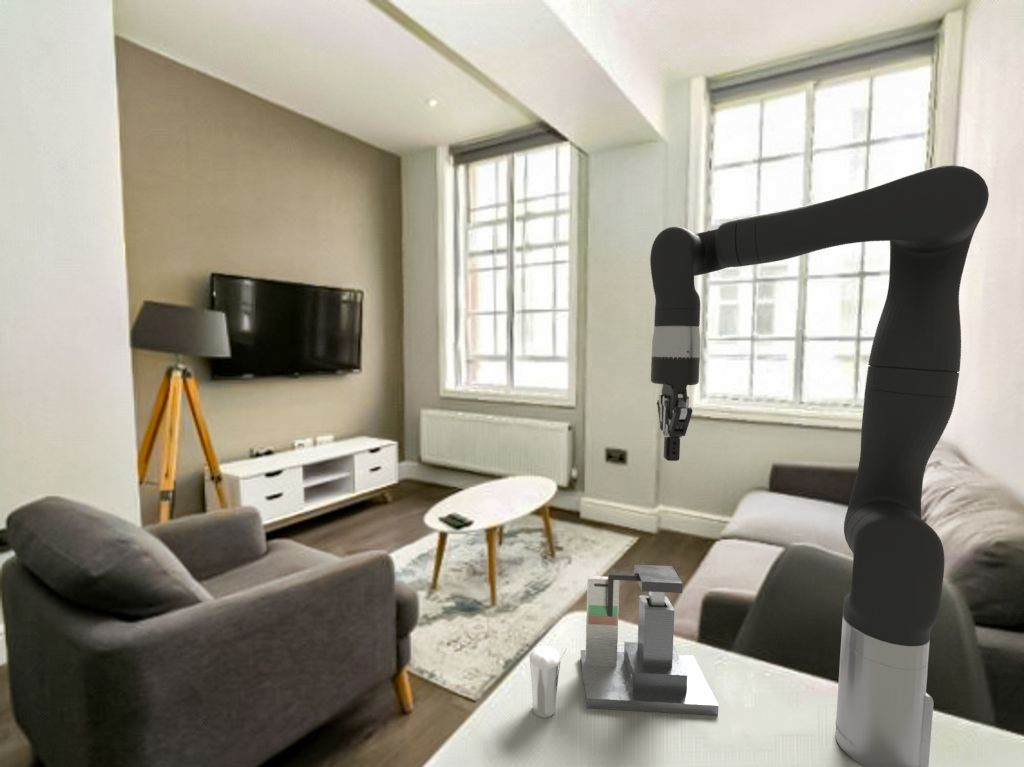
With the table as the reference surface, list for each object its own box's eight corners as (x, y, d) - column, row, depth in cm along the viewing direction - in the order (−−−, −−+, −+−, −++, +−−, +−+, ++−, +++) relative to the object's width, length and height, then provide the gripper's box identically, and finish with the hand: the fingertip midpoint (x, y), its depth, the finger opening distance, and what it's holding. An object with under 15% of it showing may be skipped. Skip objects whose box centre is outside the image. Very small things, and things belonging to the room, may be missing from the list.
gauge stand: (693, 664, 85) (697, 572, 84) (718, 715, 73) (723, 609, 72) (580, 658, 86) (583, 567, 85) (587, 708, 74) (590, 603, 73)
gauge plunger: (669, 634, 82) (671, 566, 81) (679, 657, 76) (682, 583, 75) (604, 631, 83) (606, 563, 82) (609, 653, 77) (611, 580, 76)
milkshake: (561, 726, 71) (562, 657, 70) (524, 716, 72) (526, 650, 72) (567, 704, 75) (569, 640, 74) (533, 696, 77) (534, 633, 76)
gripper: (712, 355, 75) (707, 470, 76) (687, 355, 88) (682, 452, 90) (662, 355, 76) (657, 468, 77) (643, 354, 89) (640, 451, 90)
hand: (671, 459), depth 83 cm, fingers closed
